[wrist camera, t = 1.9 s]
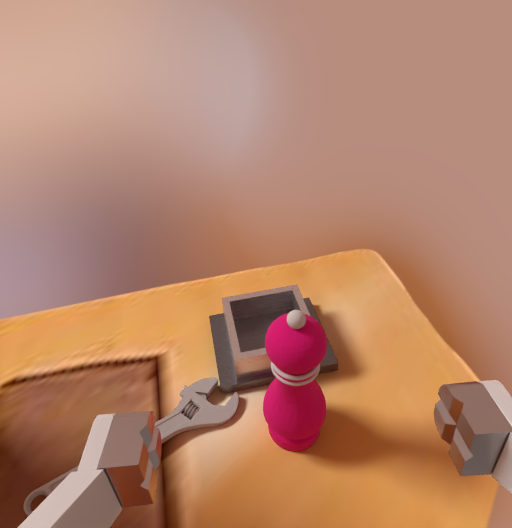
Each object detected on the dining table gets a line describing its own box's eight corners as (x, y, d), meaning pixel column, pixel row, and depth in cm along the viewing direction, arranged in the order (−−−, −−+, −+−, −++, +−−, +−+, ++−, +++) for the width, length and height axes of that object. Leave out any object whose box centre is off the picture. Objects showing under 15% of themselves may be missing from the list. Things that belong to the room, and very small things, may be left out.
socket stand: (221, 394, 53) (217, 368, 50) (210, 322, 63) (205, 297, 59) (337, 369, 55) (340, 343, 52) (308, 304, 65) (309, 278, 61)
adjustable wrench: (30, 527, 41) (25, 523, 40) (19, 467, 45) (14, 462, 43) (243, 415, 52) (244, 409, 50) (220, 373, 55) (221, 367, 54)
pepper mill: (260, 452, 47) (250, 340, 34) (268, 397, 52) (262, 283, 40) (323, 459, 46) (337, 347, 33) (324, 403, 51) (336, 288, 39)
